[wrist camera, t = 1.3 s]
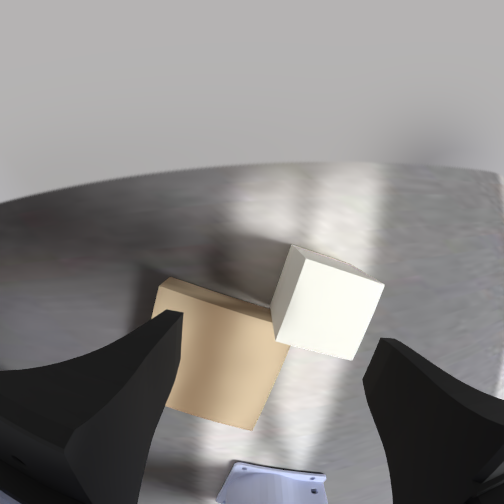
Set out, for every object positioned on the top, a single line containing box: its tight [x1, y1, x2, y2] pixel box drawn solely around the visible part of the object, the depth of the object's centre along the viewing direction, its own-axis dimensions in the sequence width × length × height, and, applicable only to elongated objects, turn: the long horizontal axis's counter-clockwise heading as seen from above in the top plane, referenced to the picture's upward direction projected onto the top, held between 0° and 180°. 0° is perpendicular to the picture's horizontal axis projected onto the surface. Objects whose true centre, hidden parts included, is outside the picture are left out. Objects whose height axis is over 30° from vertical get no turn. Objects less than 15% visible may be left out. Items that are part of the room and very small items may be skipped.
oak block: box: [151, 277, 291, 431], centre depth 20 cm, size 9×9×3 cm
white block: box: [270, 244, 385, 360], centre depth 18 cm, size 4×4×6 cm
